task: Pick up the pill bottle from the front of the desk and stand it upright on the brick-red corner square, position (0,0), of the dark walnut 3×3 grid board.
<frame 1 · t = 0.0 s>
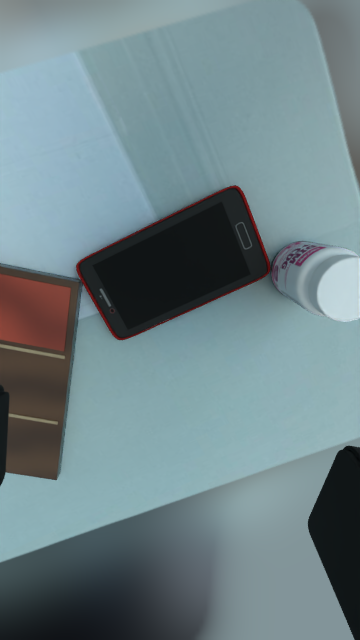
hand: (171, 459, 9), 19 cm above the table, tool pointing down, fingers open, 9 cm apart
pill bottle: (296, 269, 27), on the table
cell phone: (173, 266, 27), on the table
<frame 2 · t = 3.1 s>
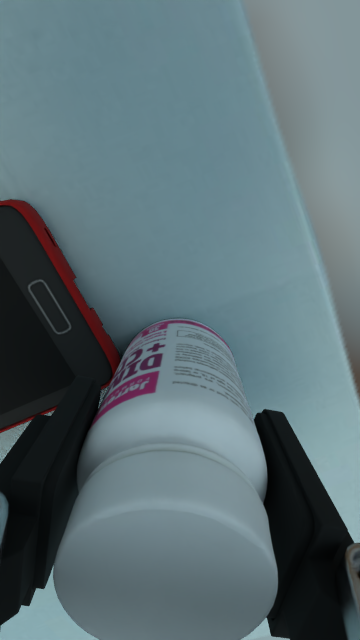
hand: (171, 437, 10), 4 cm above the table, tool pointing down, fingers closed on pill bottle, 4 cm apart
pill bottle: (178, 366, 14), on the table, touching cell phone, gripper
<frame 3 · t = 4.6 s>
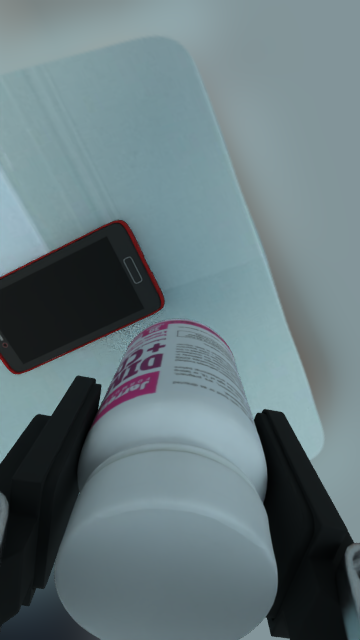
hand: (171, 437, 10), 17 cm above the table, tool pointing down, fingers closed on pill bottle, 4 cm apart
pill bottle: (178, 366, 14), point 13 cm above the table, touching gripper
cell phone: (68, 299, 26), on the table
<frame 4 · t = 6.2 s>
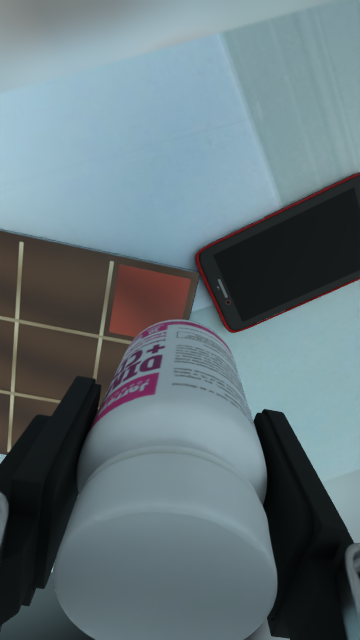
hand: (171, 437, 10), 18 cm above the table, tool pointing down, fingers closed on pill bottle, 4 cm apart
grid board: (59, 360, 28), on the table
pill bottle: (178, 367, 14), point 14 cm above the table, touching gripper
cell phone: (291, 256, 26), on the table
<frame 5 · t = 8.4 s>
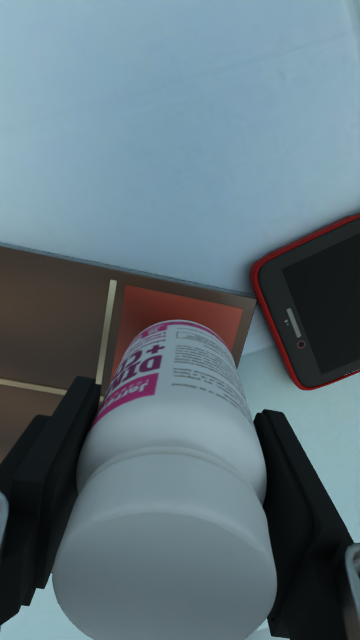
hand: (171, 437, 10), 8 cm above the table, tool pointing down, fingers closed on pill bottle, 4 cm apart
grid board: (34, 428, 19), on the table
pill bottle: (177, 367, 14), point 3 cm above the table, touching gripper
when the fingers open (5 cm above the table, at t = 9.5 s): pill bottle stays where it is, resting on grid board.
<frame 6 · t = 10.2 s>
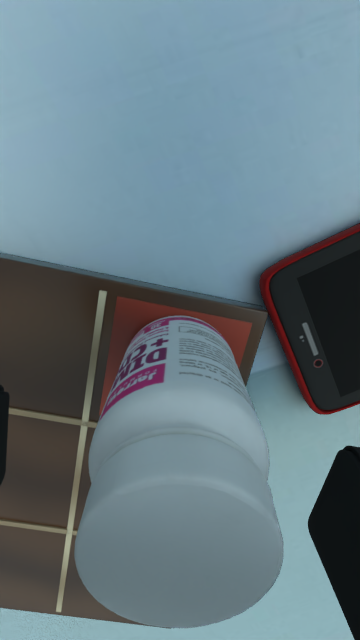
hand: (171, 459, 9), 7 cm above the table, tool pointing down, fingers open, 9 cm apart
grid board: (16, 454, 17), on the table
pill bottle: (178, 362, 14), point 1 cm above the table, touching grid board
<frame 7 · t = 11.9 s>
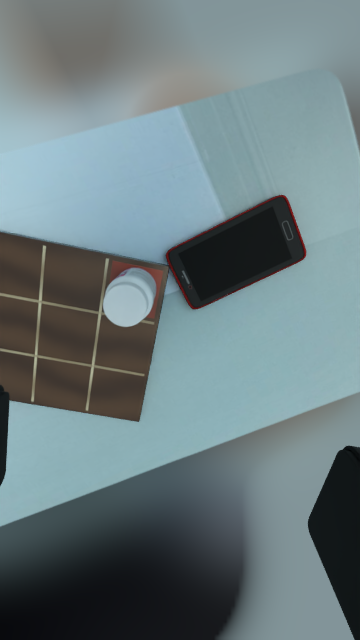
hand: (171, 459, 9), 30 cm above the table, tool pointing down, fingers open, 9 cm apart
grid board: (70, 332, 39), on the table
pill bottle: (136, 287, 36), point 1 cm above the table, touching grid board
cell phone: (234, 254, 36), on the table
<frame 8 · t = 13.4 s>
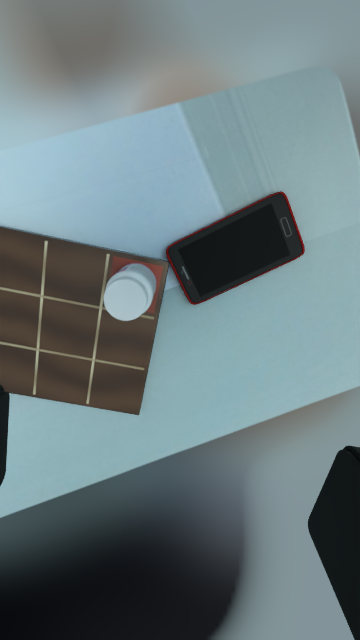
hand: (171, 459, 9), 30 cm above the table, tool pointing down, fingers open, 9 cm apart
grid board: (71, 326, 39), on the table
pill bottle: (136, 282, 37), point 1 cm above the table, touching grid board
cell phone: (233, 250, 37), on the table
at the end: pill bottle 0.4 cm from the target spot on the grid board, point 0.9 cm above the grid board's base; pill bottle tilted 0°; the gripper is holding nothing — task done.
